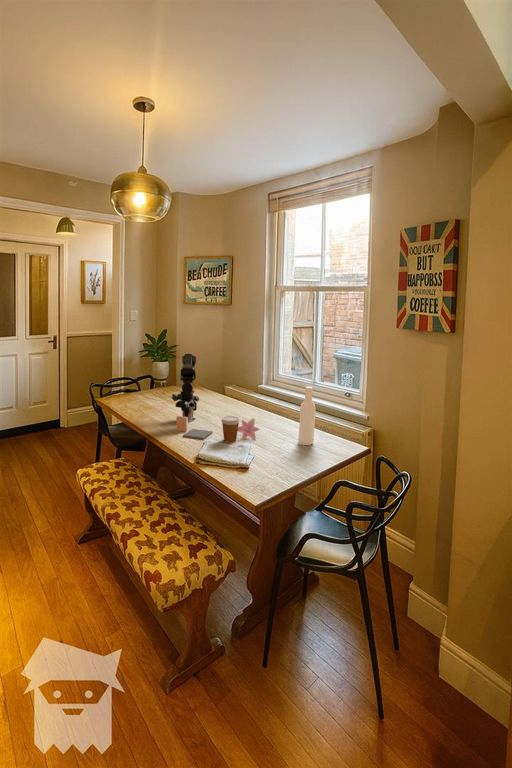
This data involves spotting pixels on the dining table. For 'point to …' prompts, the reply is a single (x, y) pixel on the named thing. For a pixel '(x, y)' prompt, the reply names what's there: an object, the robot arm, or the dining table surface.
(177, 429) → the tile
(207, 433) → the rest mat
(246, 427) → the lily
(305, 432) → the bottle
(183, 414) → the brown wooden block
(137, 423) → the dining table surface
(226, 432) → the disposable coffee cup
